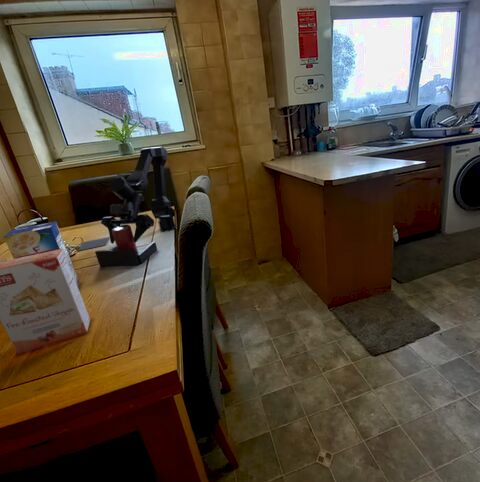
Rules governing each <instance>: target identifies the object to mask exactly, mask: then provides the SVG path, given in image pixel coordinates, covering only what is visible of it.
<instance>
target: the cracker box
mask: <svg viewBox="0 0 480 482" xmlns="http://www.w3.org/2000/svg"><path fill="white" fill-rule="evenodd" d="M80 292H81V291H80V289H79V285H78V286H77V284H76V281H75V279H74V276H73V274H72V271H71V269H70V266H69V264H68V261H67V259H66V256H65V254H64V251H63V249H59V250H54V251H49V252H45V253H40V254H35V255H31V256H26V257H21V258H16V259H14V258H11V259H8V260H3V261H0V322H1V324H2V326H3V328H4V330H5V332H6V334H7V335H8V337H9V339H10V341H11V343H12V345H13V347H14V348H15V351H16V352H17V354H18V355H21V354H24V353H27V352H30V351H34V350H36V349H40V348H43V347H46V346H50V345H53V344H55V343H59V342H63V341H65V340H69V339H71V338H75V337H78V336H82V335H85V334H87V333H88V331H89V327H90V323H91V318H90V315H89V312H88V309H87V307H86V304H85V302H84V300H83V297H82V295H81V293H80Z"/></svg>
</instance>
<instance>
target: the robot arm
mask: <svg viewBox="0 0 480 482" xmlns="http://www.w3.org/2000/svg"><path fill="white" fill-rule="evenodd" d="M139 152H140V155H139V156H138V157H139V158H138V159H137V163H136V165H135V168H134V171H133V172H132V173H130V174H129V175H128V176H127V178H126V179H125V178H124V176H117V178H116V179H115V180H113V181H112V182H111V184H110V185H109V190H110V191H111V192H112V193H113V194H115V195H116V196H117V197H118V198H119V199H121V200H124V202H123V204H111V205H110V215H116V217H117V218H118V219H117V218H115V217H114V216H103V217H102V218H101V221H100V224H101V225H103V226H104V227H105V228H107V231H108V234H109V241H110V244H114V243H115V239H114V236H113V233H112V229H113V228H115V227H117V226H121V225H135V229H134V233H133V236H134V242H135V243H137V242H138V241H139V239H141V237H142V236H143V235H144V234H145V233H146V231H148V230H149V229H151V228H152V227H154V226H155V220H156V219H158V220H157V224H158V228H159V230H160V231H161V232H167V231H171V230H175V229H177V226H176V224H175V219H174V217H176V210H175V208H174V207H172V206H171V201H170V200H169V199H168V197H167V192H166V180H165V166H166V163H167V161H168V151H167V149H166V148H165V147H164V146H155V147H145V148H141V149H140V151H139ZM150 166H152V175H153V177H152V178H153V190H154V198H153V199H151V201H150V209H151V210H150V211H151V213H152V215H153V217H154V219H155V220H154V219H153V218H152V217H151V216H150V215H149V214H148V213H143V214H142V213H141V212H142V210H141V209H140V208H141V203H142V202H144V201H145V197H144V196H143V194H142V193H141V192H146V191H147V189H148V186H149V185H148V184H149V180H148V178H147V176H148V173H149V169H150Z"/></svg>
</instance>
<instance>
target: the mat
mask: <svg viewBox="0 0 480 482" xmlns="http://www.w3.org/2000/svg"><path fill="white" fill-rule="evenodd" d="M109 240H110V236H108V237H103V238H98V239H93V240H88V241H83V242H82V244H80V247H79V248H78V250H77V252H81V251H87V250H90V249H96V248H100V247H105V246H107V244H108V241H109Z"/></svg>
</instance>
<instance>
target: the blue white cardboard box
mask: <svg viewBox="0 0 480 482" xmlns="http://www.w3.org/2000/svg"><path fill="white" fill-rule="evenodd" d="M3 239H4V241H5V243H6V246H7V248H8V250H9V252H10V254H11V257H12V259H16V258H21V257H26V256H31V255H35V254H40V253H45V252H49V251H54V250H59V249H63V251H64V254H65V256H66V259H67V261H68V264H69V266H70V269H71V271H72V274H73V276H74V279H75V281H76V284H77V286H78V287H79V285H80V280H79V277H78V274H77V271H76V269H75V267H74V264H73V261H72V258H71V256H70V253H69V250H68V249H67V246H66V244H65V241H64V239H63V236H62V234H61V231H60V228H59V226H58V223H57V220H56V221H50V222H46V223H45V222H44V223H40V224H36V225H29V226H25V227H20V228H16V229H11V230H10V231H9V232H7V233H6V234H5V235H4V236H3Z"/></svg>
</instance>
